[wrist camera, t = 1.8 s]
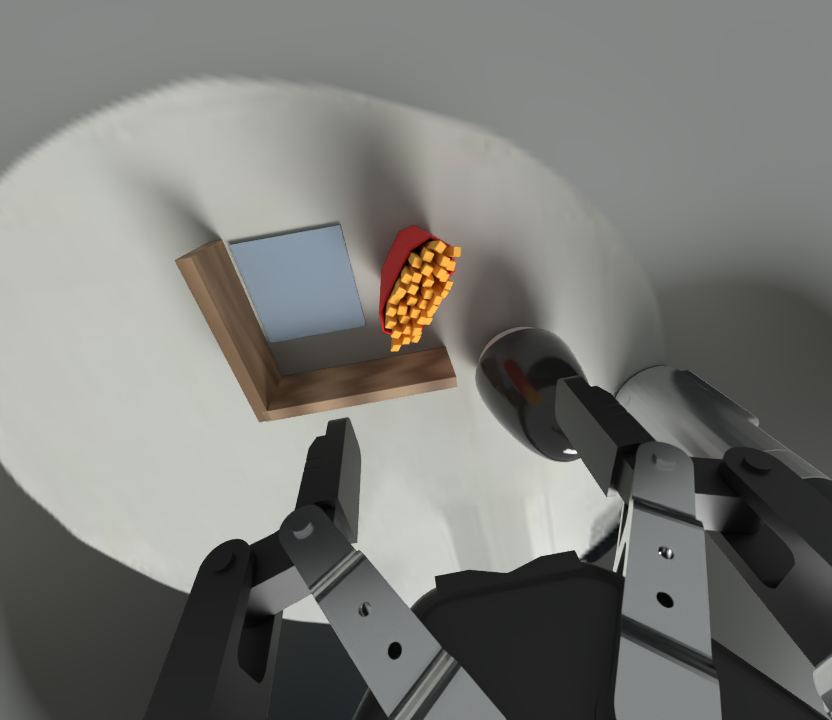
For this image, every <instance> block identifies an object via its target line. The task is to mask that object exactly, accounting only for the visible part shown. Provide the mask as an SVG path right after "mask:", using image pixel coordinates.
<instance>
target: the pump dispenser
mask: <svg viewBox="0 0 832 720" xmlns="http://www.w3.org/2000/svg"><path fill="white" fill-rule="evenodd" d="M578 375H579V376H581V377H582V378H583V379H584V380H585V381H586V382H587V383H588V384H589V382H588V380H587V378H586V375H585V373H584V371H583V369H582V367H581V365H580V364H579V362H578V360H577V359H576V357H575V355H574V354H573V352H572V351H571V349H570V348H569V347H568V345H567V344H566V343H565V342H564V341H563V340H562V339H561V338H560V337H559V336H557V335H556V334H554V333H552V332H550V331H547V330H544V329H538V328H533V327H516V328H512V329H509V330H506V331H504V332H502V333H500V334H498V335H497V336H495V337H494V338H493V339H492V340H491V341H490V342H489V343H488V344H487V345H486V346H485V348H484V349H483V351H482V353H481V355H480V358H479V361H478V366H477V369H476V375H475V380H476V386H477V389H478V392H479V394H480V396H481V398H482V400H483V402H484V403H485V405H486V406H487V408H488V409H489V410H490V412H491V413H492V414H493V416H494V417H495V418H496V419H497V421H498V422H499V423H500V424H501V425H502V426H503V427H504V428H505V429H506V430H507V431H508V432H509V433H510V434H511V435H512V436H513V437H514V438H515V439H516V440H518V441H519V442H520V443H521V444H522V445H524V446H525V447H526V448H528V449H529V450H531V451H532V452H534V453H535V454H537V455H539V456H541V457H543V458H546V459H548V460H551V461H555V462H571V461H575V460H577V459H580V456H579V455H578V453H577V452H576V450H575V449H574V447H573V446H572V444H571V443H570V441H569V440H568V438H567V437H566V435H565V434H564V432H563V431H562V429H561V428H560V426H559V425H558V422H557V420H556V416H555V401H556V387H557V381H558V379H561V378H567V377H572V376H578Z"/></svg>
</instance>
